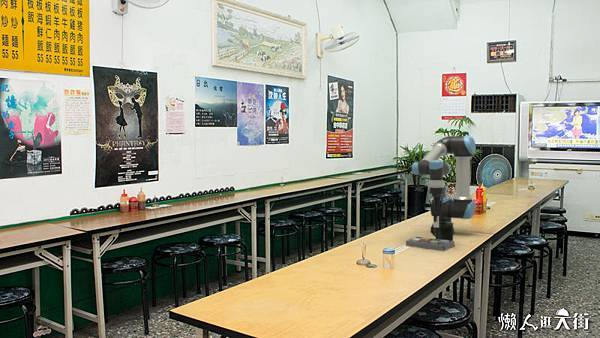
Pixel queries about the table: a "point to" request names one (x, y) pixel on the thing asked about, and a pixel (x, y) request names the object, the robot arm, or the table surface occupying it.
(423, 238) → the block
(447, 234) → the mug
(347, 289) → the table surface
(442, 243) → the key slate
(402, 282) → the table surface
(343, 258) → the table surface
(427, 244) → the grey compartment rack
